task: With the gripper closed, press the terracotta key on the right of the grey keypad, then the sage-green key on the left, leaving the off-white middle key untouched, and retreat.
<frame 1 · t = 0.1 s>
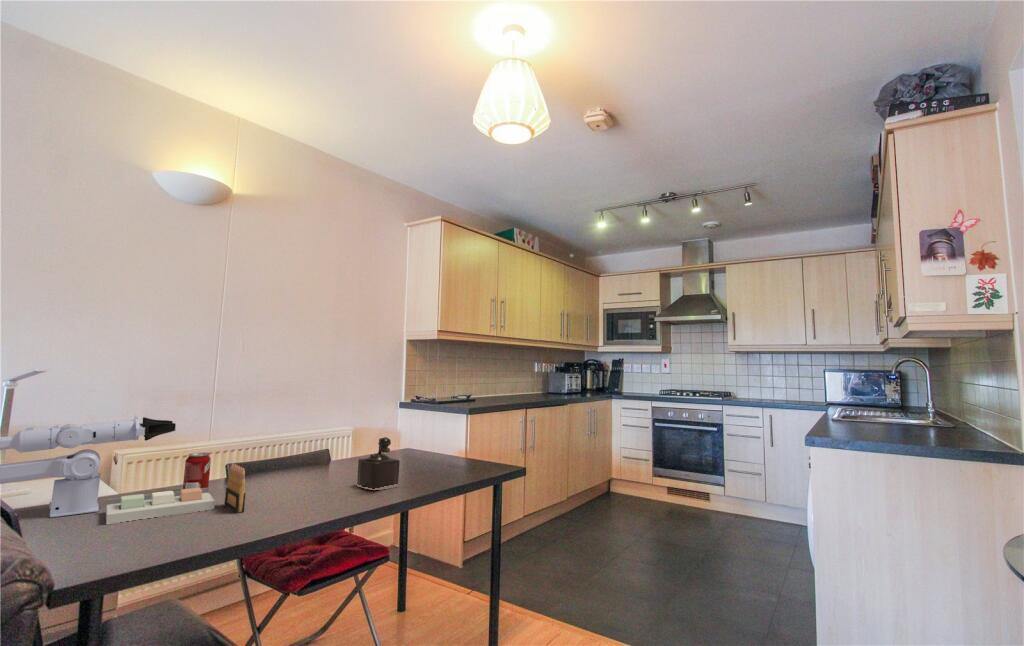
hand: (173, 425, 142), 22 cm above the table, tool horizontal, fingers open, 7 cm apart
key right: (190, 496, 134), point 3 cm above the table, slide at 0.0 cm
key middle: (162, 499, 130), point 3 cm above the table, slide at 0.0 cm
keypad: (161, 511, 129), on the table
soda can: (195, 493, 148), on the table
dark box with figurine: (380, 489, 162), on the table
key left: (132, 503, 125), point 3 cm above the table, slide at 0.0 cm
pencil pack: (233, 509, 134), on the table
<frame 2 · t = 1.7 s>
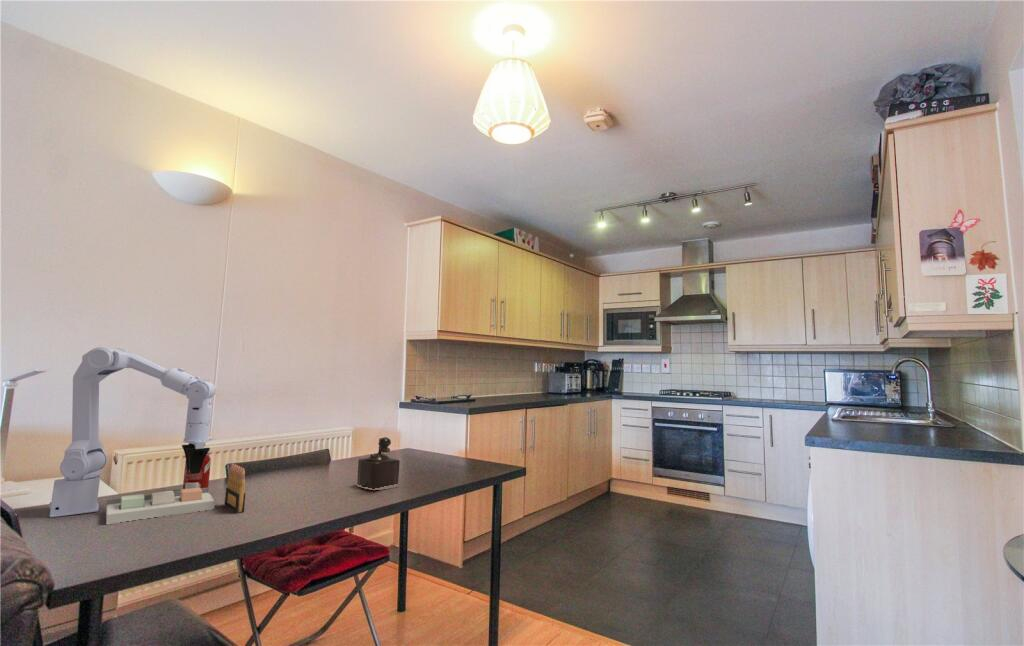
hand: (193, 471, 135), 10 cm above the table, tool pointing down, fingers open, 6 cm apart
nothing on the table moved.
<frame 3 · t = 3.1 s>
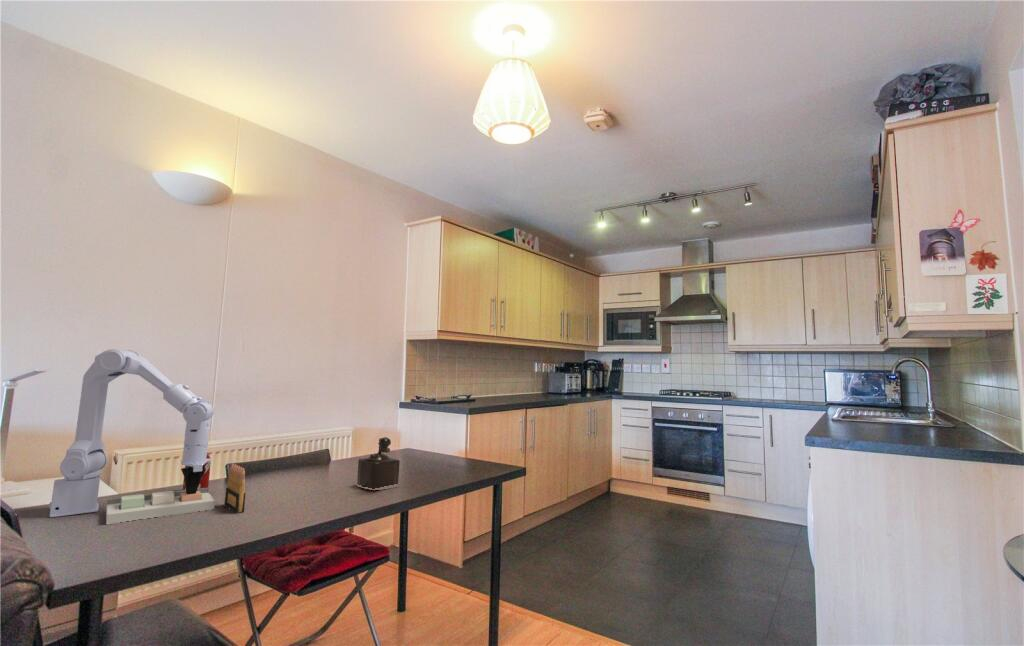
hand: (191, 493, 134), 4 cm above the table, tool pointing down, fingers closed, pressing on key right
key right: (190, 499, 134), point 2 cm above the table, slide at 0.9 cm, touching gripper
everything else where it was.
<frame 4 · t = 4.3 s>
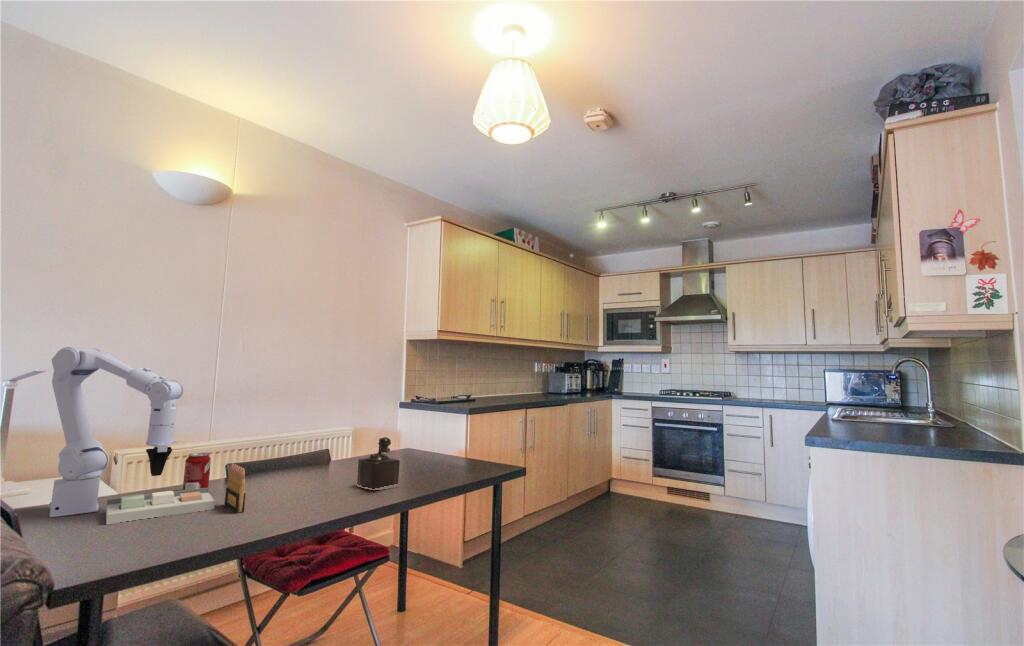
hand: (156, 475, 129), 10 cm above the table, tool pointing down, fingers closed
key right: (190, 500, 134), point 2 cm above the table, slide at 1.1 cm
everything else where it was.
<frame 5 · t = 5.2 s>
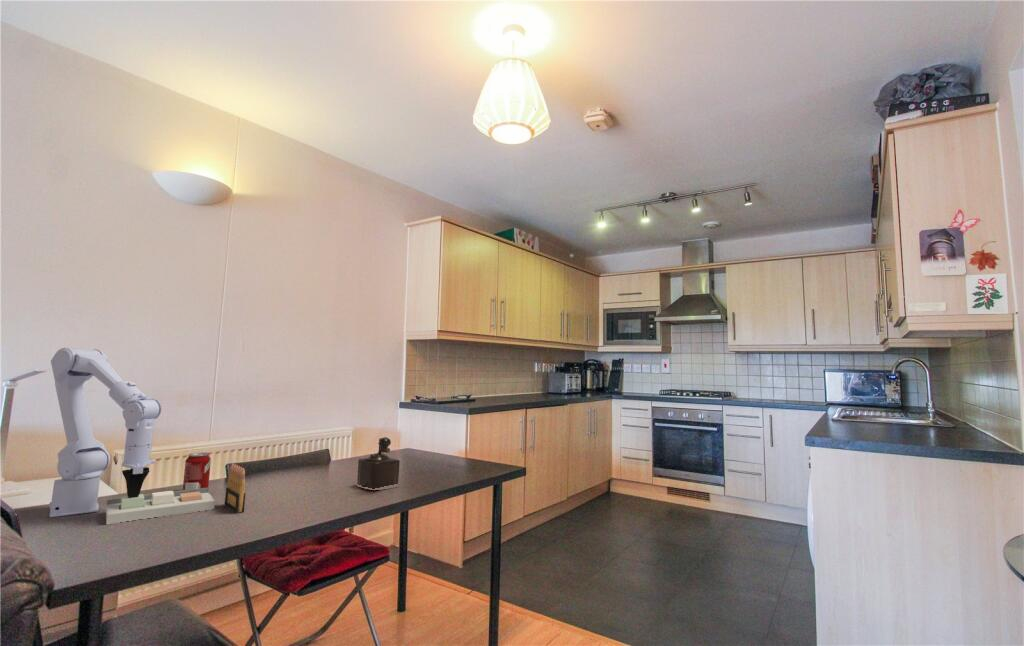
hand: (132, 497, 125), 5 cm above the table, tool pointing down, fingers closed, pressing on key left
key left: (132, 503, 125), point 3 cm above the table, slide at 0.0 cm, touching gripper
everything else where it was.
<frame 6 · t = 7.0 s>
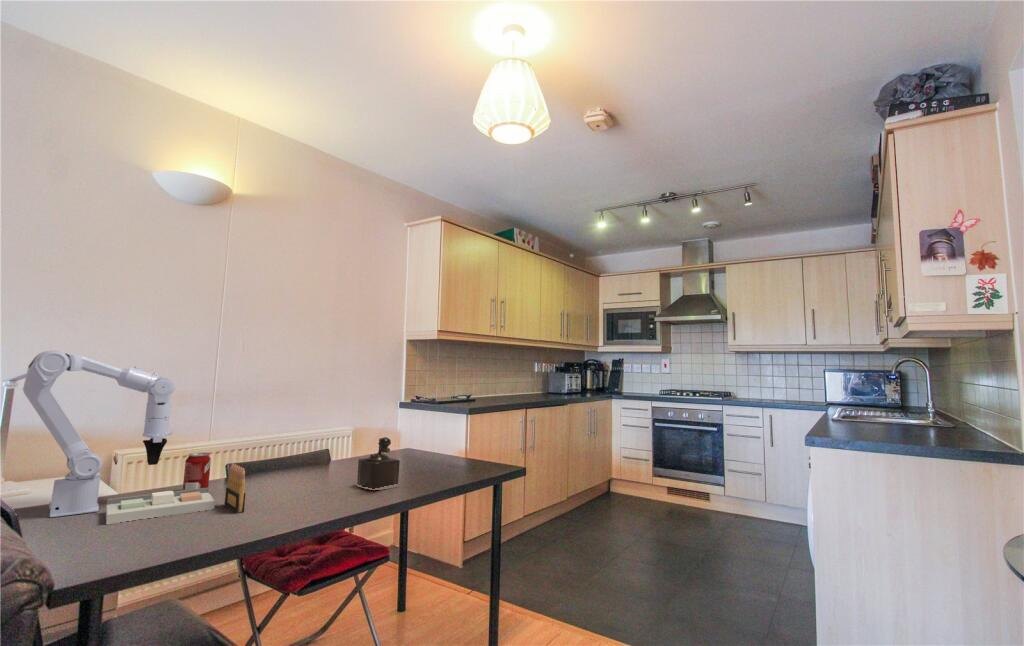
hand: (152, 464, 140), 10 cm above the table, tool pointing down, fingers closed
key left: (131, 507, 125), point 2 cm above the table, slide at 1.1 cm
everything else where it was.
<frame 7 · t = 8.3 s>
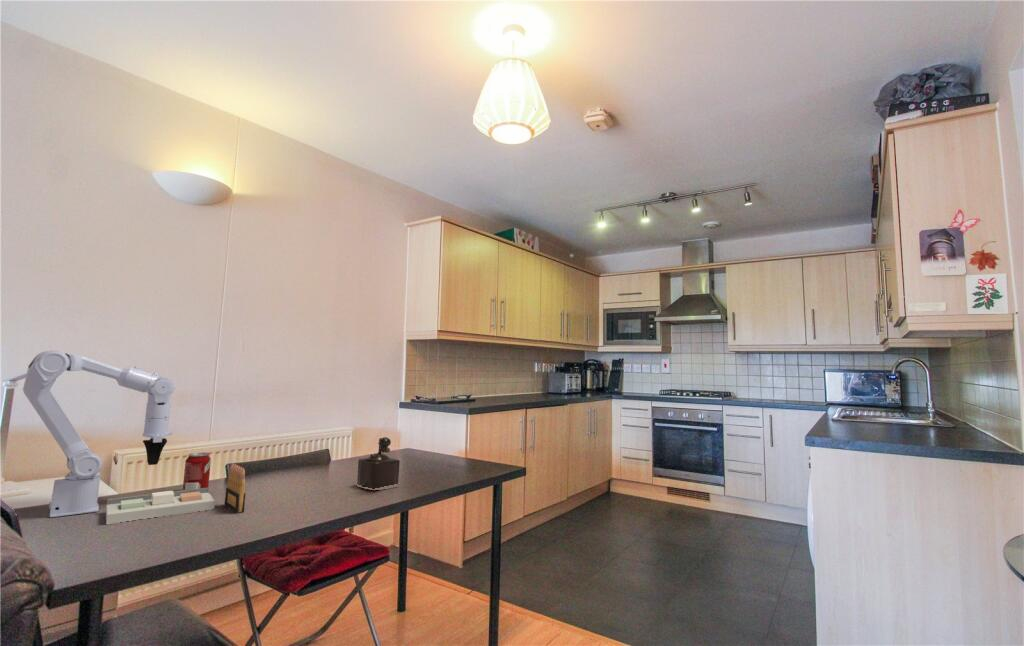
hand: (152, 464, 140), 10 cm above the table, tool pointing down, fingers closed
nothing on the table moved.
at the end: key right slide at 1.1 cm; key left slide at 1.1 cm; key middle slide at 0.0 cm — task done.
